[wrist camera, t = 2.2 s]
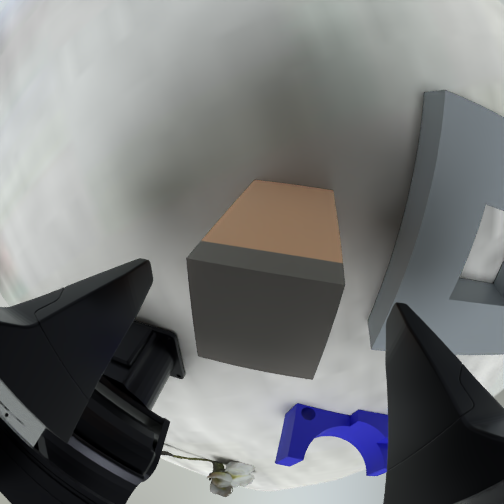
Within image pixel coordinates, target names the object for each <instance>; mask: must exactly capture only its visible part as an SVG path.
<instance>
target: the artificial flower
mask: <svg viewBox="0 0 504 504" xmlns="http://www.w3.org/2000/svg"><path fill="white" fill-rule="evenodd" d="M161 455H166V456H167V455H169V456H173V457H177V458H180V459H182V458H184V459H188V460H203V461H210V462H212V463H213V472H212V473H210V474H209V476H208V477H207V478H209V480H211V478H212V481H211V484H210V491H211V492H212V493H214V494H219V495H221V496H223V497H227V496H229V494H231V488H232V489H233V487H237V486H243V487H245V486H247V485H248V484H251V483H252V482H253V480H254V476H253V475H251V474H250V473H251V472H253V471H254V466H252V465H249V464H245V463H242V462H233V461H230V462H229V463H228V464H227V465H226V469H224V466H223V464H222V463H218V462H216V461H212V460H208V459H202V458H187V457H181V456H175V455H172V454H171V453H169V452H166V451H162V452H161ZM232 491H233V490H232Z"/></svg>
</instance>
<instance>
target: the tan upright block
mask: <svg viewBox="0 0 504 504" xmlns="http://www.w3.org/2000/svg"><path fill="white" fill-rule="evenodd" d="M186 260H187V271H188V281H189V291H190V300H191V308H192V316H193V324H194V332H195V339H196V346H197V353H198V356H200V357H203V358H207V359H211V360H215V361H219V362H223V363H227V364H231V365H236V366H240V367H245V368H249V369H254V370H259V371H264V372H269V373H275V374H280V375H286V376H292V377H298V378H305V379H312V380H313V378H314V375H315V372H316V370H317V367H318V365H319V362H320V359H321V357H322V354H323V351H324V348H325V346H326V343H327V340H328V337H329V334H330V331H331V328H332V325H333V322H334V319H335V316H336V313H337V310H338V307H339V304H340V300H341V297H342V294H343V290H344V287H345V279H344V268H343V259H342V250H341V241H340V233H339V226H338V219H337V212H336V205H335V199H334V193H333V190H327V189H321V188H315V187H308V186H301V185H294V184H286V183H278V182H270V181H262V180H254V181H253V182H252V183H251V184H250V185H249V187H248V188H247V189H246V190H245V191H244V192H243V193H242V194H241V195H240V197H239V198H238V199H237V200H236V201H235V202H234V203H233V204H232V206H231V207H230V208H229V209H228V210H227V211H226V212H225V214H224V215H223V216H222V217H221V218H220V219H219V220H218V222H217V223H216V224H215V225H214V226H213V227H212V228H211V230H210V231H209V232H208V233H207V234H206V236H205V237H204V238H203V239H202V240H201V241H200V243H199V244H198V245H197V246H196V247H195V249H194V250H193V251H192V252H191V253H190V255H189V256H188V257H187V258H186Z"/></svg>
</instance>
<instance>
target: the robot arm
mask: <svg viewBox="0 0 504 504" xmlns="http://www.w3.org/2000/svg"><path fill="white" fill-rule="evenodd" d="M152 283H153V275H152V269H151V264H150V261H149V260H146V259H141V258H140V259H136V260H134V261H131V262H128V263H126V264H123V265H120V266H118V267H115V268H112V269H110V270H107V271H105V272H102V273H99V274H97V275H94V276H92V277H89V278H86V279H84V280H81V281H79V282H76V283H74V284H71V285H69V286H66V287H65V288H61V289H59V290H56V291H54V292H51V293H49V294H46V295H43V296H40V297H38V298H35V299H32V300H29V301H26V302H23V303H20V304H17V305H14V306H11V307H0V492H1V493H2V494H3V495H4V496H5V497H6V498H7V499H8V500H9V501H10V502H11V503H12V504H126V502H127V500H128V498H129V497H130V495H131V494H132V492H133V491H134V489H135V488H136V487H137V486H138V485H139V484H140V483H141V482H144V481H145V480H147V479H148V478H149V477H150V476H151V474H152V473H153V472H154V470H155V469H156V467H157V464H158V462H159V459H160V456H161V452H162V448H163V445H164V441H165V438H166V434H167V431H168V428H169V424H170V421H169V420H167V419H165V418H162V417H160V416H159V415H157V414H155V413H154V412H152V411H151V409H152V408H153V406H154V404H155V402H156V400H157V398H158V396H159V394H160V393H161V391H162V389H163V387H164V385H165V383H166V381H167V380H168V378H169V376H173V377H176V378H179V379H183V378H184V376H185V372H184V368H183V364H182V359H181V355H180V350H179V346H178V341H177V337H176V335H175V334H174V333H172V332H170V331H166V330H163V329H160V328H156V327H153V326H150V325H147V324H144V323H140V322H137V321H134V319H135V317H136V316H137V314H138V312H139V310H140V308H141V306H142V304H143V302H144V300H145V298H146V295H147V293H148V291H149V289H150V287H151V285H152ZM386 378H387V396H388V457H387V472H386V484H385V494H384V503H383V504H504V408H503V407H502V406H501V405H500V404H499V403H498V402H497V401H496V400H495V399H494V397H493V396H492V395H491V394H490V393H489V392H488V391H487V390H486V389H485V388H484V387H483V386H482V385H481V384H480V383H479V382H478V381H477V380H476V378H475V377H474V376H473V375H472V374H471V373H470V372H469V371H468V369H467V368H466V367H465V366H464V365H463V364H462V362H461V361H460V360H459V359H458V358H457V357H456V356H455V355H454V353H453V352H452V351H451V350H450V349H449V348H448V347H447V346H446V345H445V344H444V342H443V341H442V340H441V339H440V338H439V337H438V336H437V335H436V334H435V333H434V332H433V331H432V330H431V329H430V327H429V326H428V325H427V324H426V323H425V322H424V321H423V320H422V319H421V318H420V317H419V316H418V315H417V314H416V313H415V312H414V311H413V310H412V309H411V308H410V307H409V306H408V305H407V304H406V303H400V302H396V303H395V304H394V305H393V307H392V309H391V312H390V314H389V316H388V318H387V321H386Z"/></svg>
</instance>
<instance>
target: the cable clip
mask: <svg viewBox="0 0 504 504" xmlns="http://www.w3.org/2000/svg"><path fill="white" fill-rule="evenodd" d="M321 436H335V437H339V438H342V439H344V440H346V441H348V442H350V443H351V444H352V445H354V446H355V447H356V448H357V449H358V451H359V452H360V453H361V455H362V457H363V459H364V461H365V465H366V471H367V472H366V473H367V474H366V475H367V476H378V475H381V474H383V473H385V472H387V457H388V415H386V414H380V413H374V412H369V411H363V410H357V411H356V412H355V413H353V414H352V415H351V416H349V415H345V414H340V413H335V412H331V411H326V410H322V409H318V408H314V407H310V406H306V405H302V404H299V403H297V404H296V405H295V406H294V407H293V408H292V409H291V410H290V411H289V412H288V413H286V414H285V419H284V424H283V429H282V434H281V438H280V443H279V447H278V452H277V456H276V461H275V463H276V464H280V465H285V466H292V465H294V464H296V463H298V462H300V461H302V460H304V455H305V453H306V450H307V448H308V446H309V444H310V443H311V442H312V440H313V439H314V438H316V437H321Z"/></svg>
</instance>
